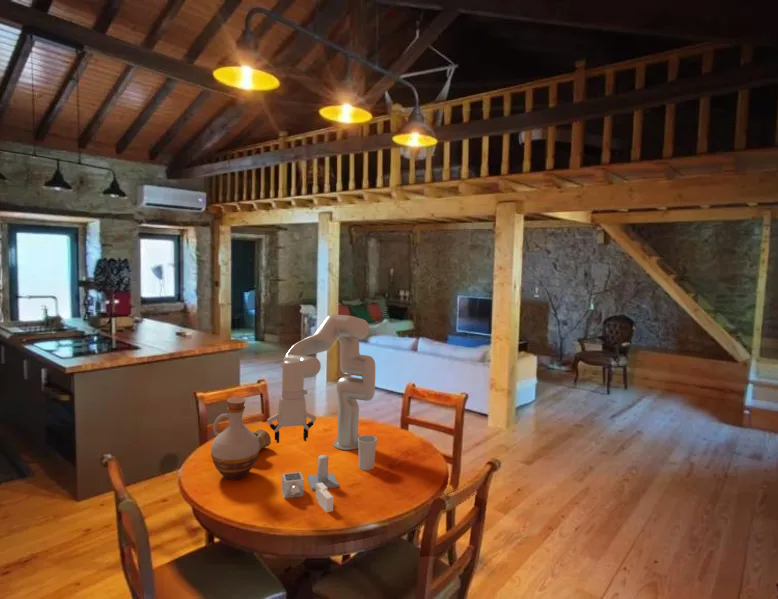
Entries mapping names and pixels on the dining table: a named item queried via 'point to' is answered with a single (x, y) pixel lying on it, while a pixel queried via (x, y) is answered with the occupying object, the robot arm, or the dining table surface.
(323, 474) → the flange
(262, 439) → the pipe
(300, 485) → the collar
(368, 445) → the cup
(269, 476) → the dining table surface
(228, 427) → the jug
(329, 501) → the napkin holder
